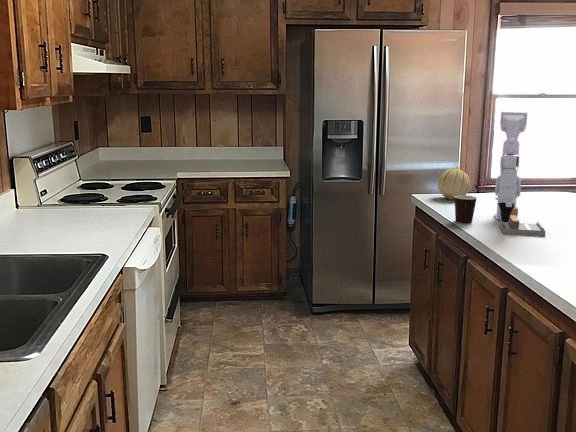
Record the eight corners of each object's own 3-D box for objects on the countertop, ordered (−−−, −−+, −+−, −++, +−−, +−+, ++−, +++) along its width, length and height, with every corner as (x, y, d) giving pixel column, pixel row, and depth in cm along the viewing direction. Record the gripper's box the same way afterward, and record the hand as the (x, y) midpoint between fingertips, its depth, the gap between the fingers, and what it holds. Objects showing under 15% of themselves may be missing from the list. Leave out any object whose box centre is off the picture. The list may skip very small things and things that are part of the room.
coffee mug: (458, 218, 264) (459, 194, 261) (478, 221, 258) (480, 197, 256) (445, 223, 255) (447, 198, 253) (466, 226, 250) (467, 201, 247)
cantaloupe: (436, 201, 299) (437, 169, 296) (438, 195, 313) (440, 164, 309) (468, 203, 295) (471, 170, 291) (469, 197, 308) (471, 166, 305)
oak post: (507, 224, 254) (509, 206, 252) (515, 224, 253) (517, 207, 252) (508, 225, 251) (510, 208, 249) (516, 226, 250) (518, 208, 249)
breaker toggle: (508, 222, 247) (509, 215, 246) (515, 223, 246) (515, 215, 246) (511, 228, 238) (512, 220, 237) (518, 228, 238) (519, 220, 237)
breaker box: (498, 227, 249) (499, 220, 248) (539, 229, 246) (540, 222, 245) (502, 234, 238) (503, 226, 238) (545, 236, 235) (545, 228, 235)
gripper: (494, 183, 247) (491, 217, 250) (498, 189, 233) (495, 225, 236) (513, 183, 246) (510, 218, 249) (519, 190, 232) (516, 226, 235)
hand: (504, 222), depth 243 cm, fingers closed
